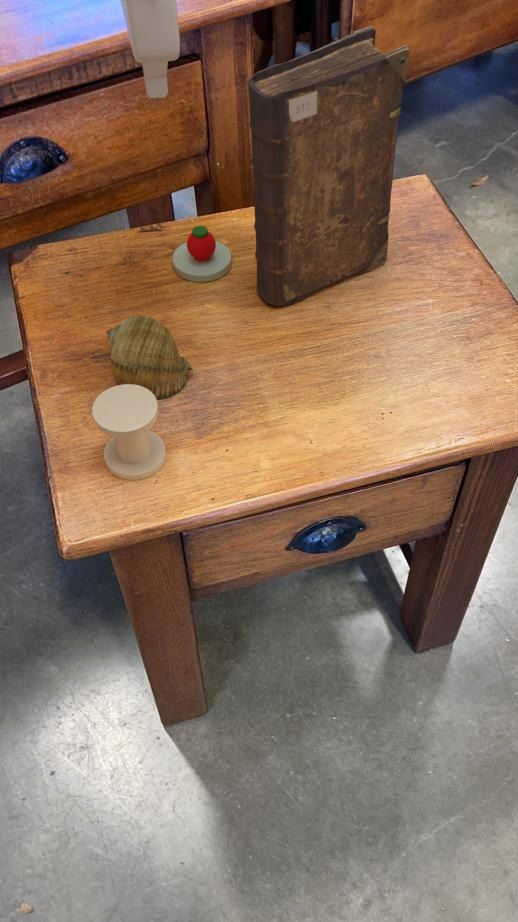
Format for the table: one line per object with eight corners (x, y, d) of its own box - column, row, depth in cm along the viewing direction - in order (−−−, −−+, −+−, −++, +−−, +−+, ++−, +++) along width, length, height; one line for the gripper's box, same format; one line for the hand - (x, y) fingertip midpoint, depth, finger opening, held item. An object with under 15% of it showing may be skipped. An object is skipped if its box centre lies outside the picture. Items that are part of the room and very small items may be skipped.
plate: (177, 285, 97) (176, 278, 96) (169, 249, 101) (168, 242, 100) (236, 278, 98) (235, 271, 97) (226, 242, 102) (225, 235, 101)
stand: (107, 484, 80) (94, 436, 74) (102, 438, 83) (89, 389, 77) (169, 474, 80) (161, 426, 75) (162, 429, 84) (153, 379, 78)
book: (271, 313, 94) (268, 95, 74) (240, 279, 98) (230, 61, 78) (391, 266, 99) (419, 50, 79) (357, 235, 103) (377, 20, 83)
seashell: (187, 403, 91) (207, 333, 89) (174, 413, 85) (195, 337, 82) (103, 375, 91) (121, 304, 89) (83, 382, 84) (102, 306, 82)
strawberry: (218, 263, 98) (216, 237, 95) (190, 267, 97) (187, 240, 94) (214, 246, 100) (212, 219, 97) (186, 249, 99) (183, 223, 96)
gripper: (192, -74, 56) (204, 124, 67) (155, -166, 68) (170, 15, 79) (98, -68, 55) (126, 131, 67) (77, -163, 67) (104, 20, 78)
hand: (150, 67), depth 73 cm, fingers open, 8 cm apart
